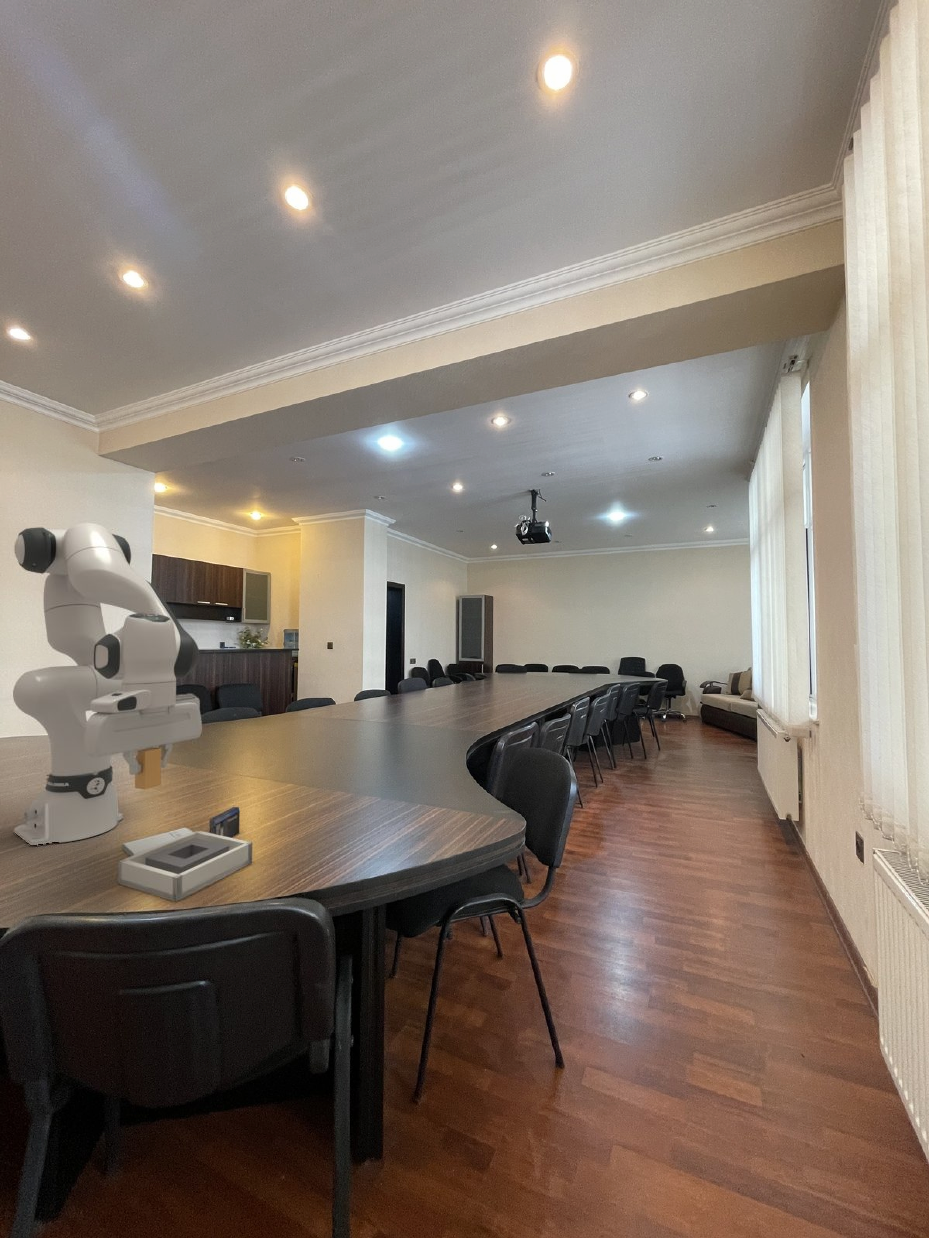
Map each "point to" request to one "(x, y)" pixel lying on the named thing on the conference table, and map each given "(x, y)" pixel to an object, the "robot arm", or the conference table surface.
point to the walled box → (184, 864)
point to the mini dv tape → (226, 823)
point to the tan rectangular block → (149, 768)
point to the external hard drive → (153, 841)
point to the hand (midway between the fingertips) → (148, 770)
